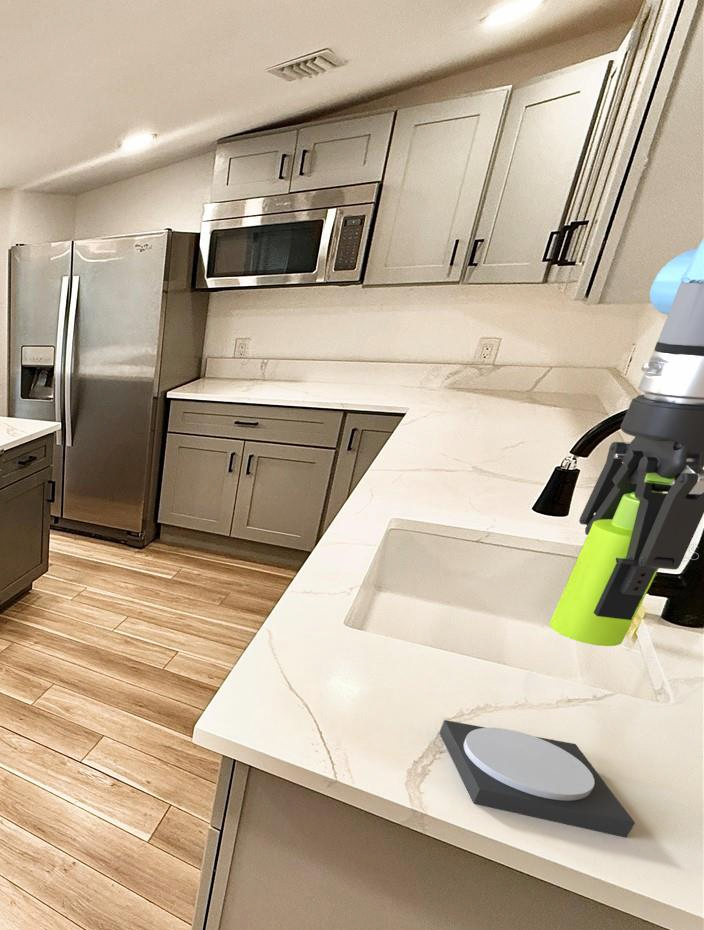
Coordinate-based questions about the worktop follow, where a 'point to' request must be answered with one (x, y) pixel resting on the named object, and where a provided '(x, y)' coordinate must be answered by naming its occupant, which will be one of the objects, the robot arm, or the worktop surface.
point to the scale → (533, 777)
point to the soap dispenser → (599, 577)
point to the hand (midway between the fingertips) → (596, 602)
